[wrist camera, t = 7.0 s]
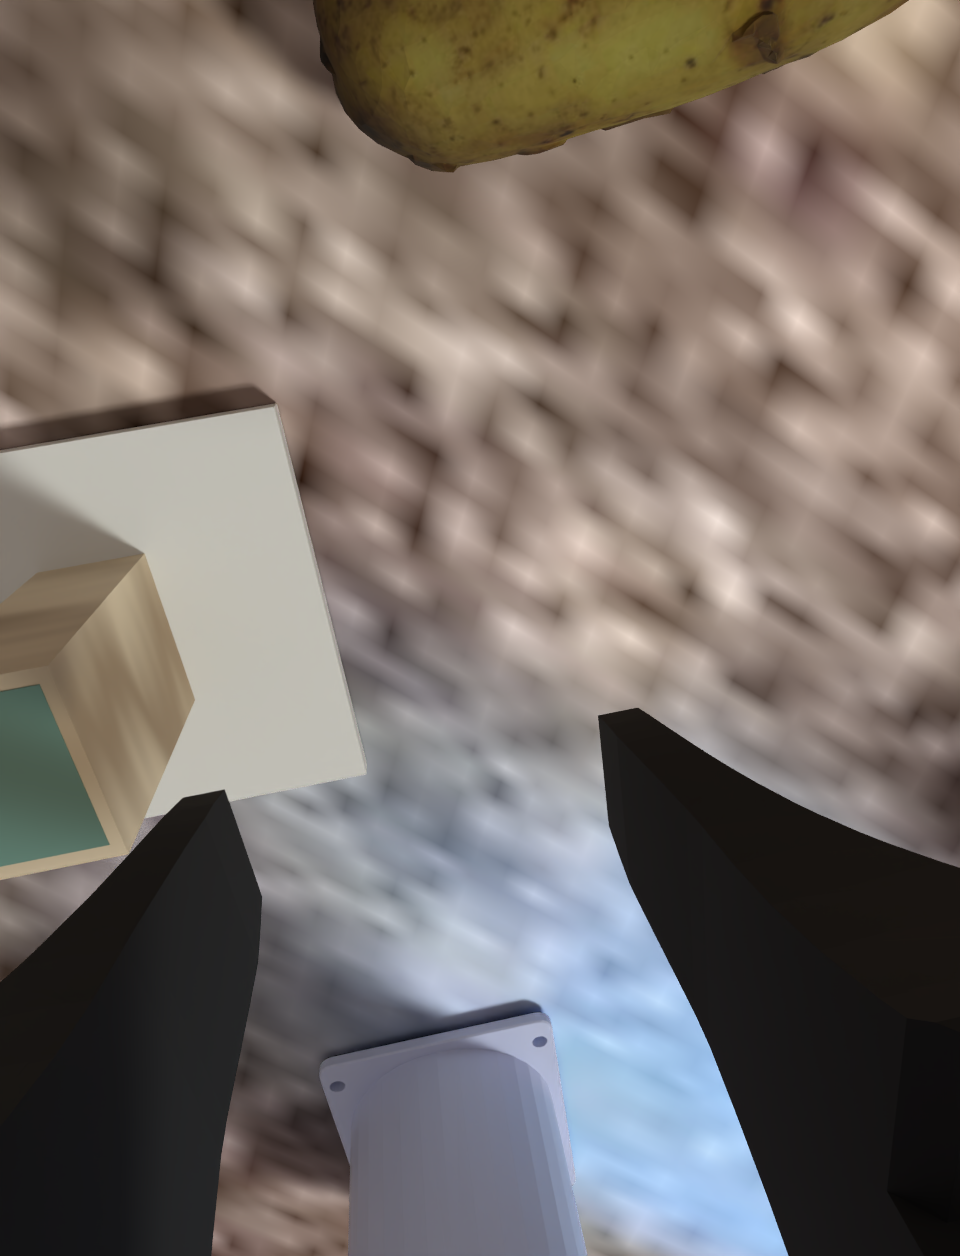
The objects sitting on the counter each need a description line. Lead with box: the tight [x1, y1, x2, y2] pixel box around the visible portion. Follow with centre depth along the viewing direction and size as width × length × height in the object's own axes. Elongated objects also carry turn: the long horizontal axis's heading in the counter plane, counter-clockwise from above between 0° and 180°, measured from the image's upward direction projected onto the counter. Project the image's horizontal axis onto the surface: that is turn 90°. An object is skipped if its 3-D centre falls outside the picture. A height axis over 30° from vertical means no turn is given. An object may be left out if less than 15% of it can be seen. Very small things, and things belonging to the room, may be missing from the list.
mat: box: [0, 403, 367, 818], centre depth 19 cm, size 10×14×1 cm
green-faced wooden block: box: [0, 553, 195, 880], centre depth 16 cm, size 4×2×6 cm, turn 9°
